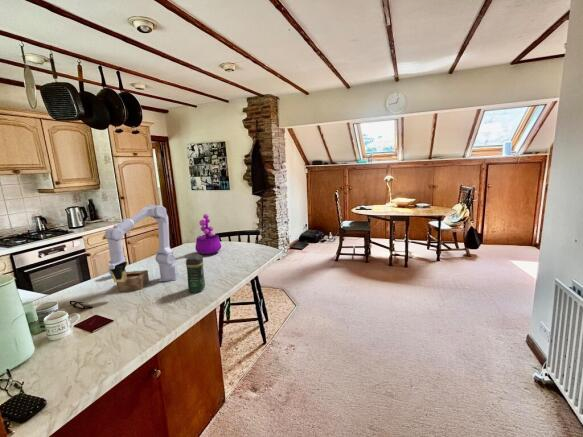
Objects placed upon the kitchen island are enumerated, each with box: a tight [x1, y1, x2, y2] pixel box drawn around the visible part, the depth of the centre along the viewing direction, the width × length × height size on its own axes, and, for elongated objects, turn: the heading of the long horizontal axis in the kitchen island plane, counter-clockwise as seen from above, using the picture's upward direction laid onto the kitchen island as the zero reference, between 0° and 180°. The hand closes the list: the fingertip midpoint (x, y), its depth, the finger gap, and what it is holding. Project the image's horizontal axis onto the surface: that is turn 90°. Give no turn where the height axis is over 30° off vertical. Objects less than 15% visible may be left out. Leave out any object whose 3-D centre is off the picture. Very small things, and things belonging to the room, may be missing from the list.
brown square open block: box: [115, 269, 150, 292], centre depth 160 cm, size 12×12×6 cm
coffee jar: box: [185, 253, 206, 294], centre depth 152 cm, size 10×8×19 cm
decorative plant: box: [195, 213, 222, 255], centre depth 217 cm, size 19×18×30 cm
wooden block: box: [112, 269, 127, 283], centre depth 144 cm, size 5×3×5 cm, turn 99°
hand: (120, 278), depth 145 cm, fingers closed on wooden block, 3 cm apart
